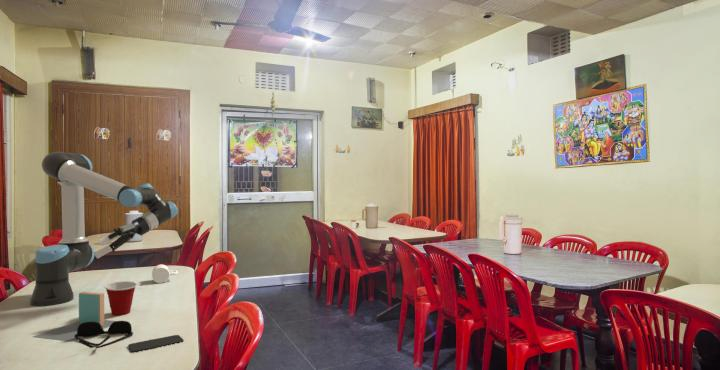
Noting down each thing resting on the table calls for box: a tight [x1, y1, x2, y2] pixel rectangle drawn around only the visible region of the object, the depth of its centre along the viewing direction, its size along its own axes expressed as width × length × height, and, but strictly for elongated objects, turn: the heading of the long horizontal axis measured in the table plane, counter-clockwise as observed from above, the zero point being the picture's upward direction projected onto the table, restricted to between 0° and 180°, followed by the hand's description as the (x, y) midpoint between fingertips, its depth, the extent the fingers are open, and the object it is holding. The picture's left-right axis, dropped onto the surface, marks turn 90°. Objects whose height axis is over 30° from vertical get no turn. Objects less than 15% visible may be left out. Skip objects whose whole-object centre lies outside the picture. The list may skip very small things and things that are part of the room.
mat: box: [32, 319, 116, 343], centre depth 146 cm, size 16×20×1 cm
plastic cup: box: [104, 280, 138, 317], centre depth 164 cm, size 11×11×12 cm
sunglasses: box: [75, 320, 134, 349], centre depth 134 cm, size 17×14×5 cm
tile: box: [78, 291, 105, 326], centre depth 151 cm, size 9×2×11 cm, turn 75°
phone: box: [127, 334, 184, 353], centre depth 134 cm, size 7×1×15 cm
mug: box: [151, 263, 179, 284], centre depth 222 cm, size 12×10×8 cm
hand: (97, 249), depth 173 cm, fingers open, 13 cm apart
